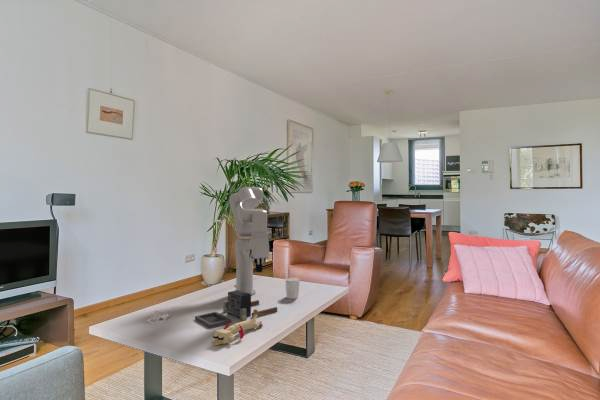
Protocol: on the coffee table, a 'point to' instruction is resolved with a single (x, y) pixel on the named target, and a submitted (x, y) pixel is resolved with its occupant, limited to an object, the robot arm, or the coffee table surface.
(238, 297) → the small box
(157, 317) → the teacup and saucer
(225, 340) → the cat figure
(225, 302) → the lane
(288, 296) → the white cup
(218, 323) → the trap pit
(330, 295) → the coffee table surface
